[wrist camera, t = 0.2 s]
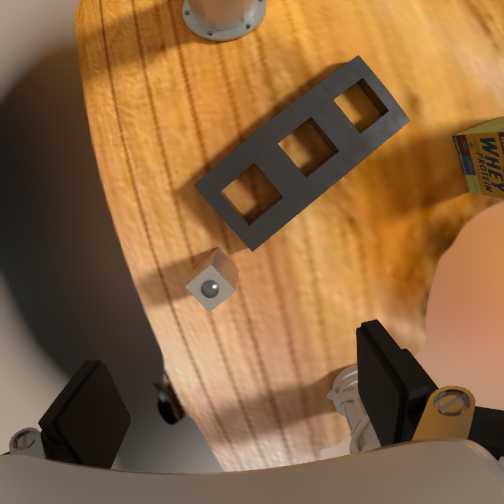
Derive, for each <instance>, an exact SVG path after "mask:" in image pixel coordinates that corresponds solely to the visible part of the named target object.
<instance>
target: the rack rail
mask: <svg viewBox="0 0 504 504" xmlns="http://www.w3.org/2000/svg"><path fill="white" fill-rule="evenodd" d="M355 83H357V84H358V85H359V86H360V88H361V89H362V90H363V91H364V92H365V94H366V95H367V96H368V97H369V99H370V100H371V101H372V102H373V104H374V105H375V106H376V108H377V109H378V110H379V111H380V113H381V115H379V116H378V117H377V118H376V119H374V120H373V121H372V122H371V123H369V124H368V125H367V126H366V127H364V128H363V129H362V130H361V131H358V130H357V129H356V128H355V126H354V125H353V124H352V123H351V121H350V120H349V119H348V118H347V116H346V115H345V114H344V113H343V111H342V110H341V109H340V108H339V107H338V105H337V104H336V103H335V102H334V101H333V100H334V99H335V98H336V97H338V96H339V95H340V94H342V93H343V92H344V91H346V90H347V89H349V88H350V87H351V86H353V85H354V84H355ZM306 120H308V121H309V122H310V123H311V124H312V126H313V127H314V128H315V129H316V130H317V132H318V133H319V134H320V135H321V136H322V138H323V139H324V140H325V141H326V143H327V144H328V145H329V146H330V148H331V149H332V150H333V151H334V152H333V153H332V154H331V155H330V156H329V157H327V158H326V159H325V160H324V161H322V162H321V163H320V164H319V165H318V166H316V167H315V168H314V169H313V170H311V171H310V172H309V173H308V174H307V175H305V176H304V175H303V173H302V172H301V171H300V170H299V169H298V167H297V166H296V165H295V164H294V163H293V161H292V160H291V159H290V158H289V157H288V155H287V154H286V153H285V152H284V151H283V150H282V148H281V147H280V146H279V145H278V143H279V142H280V141H281V140H283V139H284V138H285V137H286V136H288V135H289V134H290V133H291V132H293V131H294V130H295V129H296V128H298V127H299V126H300V125H301V124H303V123H304V122H305V121H306ZM409 121H410V120H409V118H408V117H407V115H406V114H405V113H404V111H403V110H402V108H401V107H400V106H399V104H398V103H397V102H396V100H395V99H394V98H393V96H392V95H391V94H390V92H389V91H388V90H387V89H386V87H385V86H384V85H383V84H382V82H381V81H380V80H379V79H378V77H377V76H376V75H375V74H374V73H373V71H372V70H371V69H370V68H369V67H368V65H367V64H366V63H365V62H364V61H363V60H362V59H361V57H360V56H359V55H358V56H357V57H355V58H354V59H352V60H351V61H349V62H348V63H346V64H345V65H343V66H342V67H341V68H339V69H338V70H336V71H335V72H333V73H332V74H331V75H329V76H328V77H326V78H325V79H324V80H322V81H321V82H320V83H318V84H317V85H316V86H314V87H313V88H311V89H310V90H309V91H307V92H306V93H305V94H303V95H302V96H301V97H299V98H298V99H297V100H296V101H294V102H293V103H292V104H290V105H289V106H288V107H286V108H285V109H284V110H283V111H281V112H280V113H279V114H277V115H276V116H275V117H274V118H272V119H271V120H270V121H269V122H267V123H266V124H265V125H264V126H262V127H261V128H260V129H259V130H258V131H256V132H255V133H254V134H253V135H251V136H250V137H249V138H248V139H247V140H245V141H244V142H243V143H242V144H241V145H239V146H238V147H237V148H236V149H235V150H234V151H232V152H231V153H230V154H229V155H228V156H227V157H225V158H224V159H223V160H222V161H221V162H220V163H218V164H217V165H216V166H215V167H214V168H213V169H212V170H211V171H209V172H208V173H207V174H206V175H205V176H204V177H203V178H202V179H200V180H199V181H198V182H197V183H196V184H195V185H194V187H195V188H196V189H197V190H198V191H199V192H200V193H201V194H202V196H203V197H204V198H205V199H206V200H207V201H208V202H209V203H210V205H211V206H212V207H213V208H214V209H215V210H216V211H217V212H218V214H219V215H220V216H221V217H222V218H223V219H224V220H225V221H226V223H227V224H228V225H229V226H230V227H231V228H232V229H233V230H234V232H235V233H236V234H237V235H238V236H239V237H240V238H241V239H242V241H243V242H244V243H245V244H246V245H247V246H248V247H249V248H250V250H251V251H252V252H253V251H254V250H255V249H256V248H258V247H259V246H260V245H261V244H262V243H264V242H265V241H266V240H267V239H269V238H270V237H271V236H272V235H273V234H275V233H276V232H277V231H278V230H279V229H281V228H282V227H283V226H284V225H285V224H287V223H288V222H289V221H290V220H291V219H293V218H294V217H295V216H296V215H297V214H299V213H300V212H301V211H302V210H303V209H305V208H306V207H307V206H308V205H309V204H311V203H312V202H313V201H314V200H315V199H317V198H318V197H319V196H320V195H321V194H323V193H324V192H325V191H326V190H327V189H329V188H330V187H331V186H332V185H334V184H335V183H336V182H337V181H338V180H340V179H341V178H342V177H343V176H344V175H346V174H347V173H348V172H349V171H350V170H352V169H353V168H354V167H355V166H356V165H358V164H359V163H360V162H361V161H362V160H364V159H365V158H366V157H367V156H368V155H370V154H371V153H372V152H373V151H374V150H376V149H377V148H378V147H379V146H380V145H382V144H383V143H384V142H385V141H386V140H388V139H389V138H390V137H391V136H392V135H394V134H395V133H396V132H397V131H398V130H400V129H401V128H402V127H403V126H404V125H406V124H407V123H408V122H409ZM252 164H255V165H256V166H257V167H258V168H259V170H260V171H261V172H262V173H263V174H264V175H265V177H266V178H267V179H268V180H269V181H270V182H271V184H272V185H273V186H274V187H275V188H276V189H277V191H278V192H279V193H280V194H281V196H280V197H279V198H278V199H276V200H275V201H274V202H273V203H272V204H271V205H269V206H268V207H267V208H266V209H265V210H263V211H262V212H261V213H260V214H259V215H257V216H256V217H255V218H254V219H253V220H252V221H250V222H249V221H248V220H247V219H246V218H245V217H244V216H243V215H242V213H241V212H240V211H239V210H238V209H237V208H236V207H235V205H234V204H233V203H232V202H231V201H230V200H229V199H228V197H227V196H226V195H225V194H224V193H223V192H222V190H223V189H224V188H226V187H227V186H228V185H229V184H230V183H231V182H232V181H234V180H235V179H236V178H237V177H238V176H239V175H241V174H242V173H243V172H244V171H245V170H246V169H248V168H249V167H250V166H251V165H252Z"/></svg>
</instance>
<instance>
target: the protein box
mask: <svg viewBox="0 0 504 504" xmlns="http://www.w3.org/2000/svg"><path fill="white" fill-rule="evenodd" d="M453 139H454V142H455V145H456V148H457V151H458V154H459V158H460V161H461V165H462V168H463V172H464V176H465V180H466V183H467V187H468V191H469V192H471V193H476V194H482V195H487V196H492V197H497V198H502V199H504V117H500V118H498V119H495V120H492V121H489V122H486V123H484V124H481V125H478V126H476V127H473V128H470V129H468V130H465V131H462V132H459V133H457V134H454V135H453Z"/></svg>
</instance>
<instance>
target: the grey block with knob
mask: <svg viewBox="0 0 504 504" xmlns="http://www.w3.org/2000/svg"><path fill="white" fill-rule="evenodd" d="M238 270H239V269H238V267H237V266H236V265H235V264H234V263H233V262H232V261H231V260H230V259H229V258H228V256H227V255H226V254H225V253H224V252H223V251H222V250H221V249H220V248H219V247H217V248H216V249H215V250H214V251H213V252H211V253H210V254H209V255H208V256H207V257H206V258H204V259H203V260H202V261H201V262H200V263H199V264H198V265H196V267H195V269H194V271H193V273H192V274H191V276H190V278H189V280H188V282H187V284H186V285H185V288H186V289H187V290H188V291H189V292H190V293H191V294H192V295H193V296H194V297H195V298H196V299H197V300H198V301H199V302H200V303H201V304H202V305H203V306H204V307H205V308H206V309H207V311H208V312H210V311H212V310H213V309H214V308H216V307H217V306H218V305H219V304H221V303H222V302H223V301H224V300H226V299H227V298H228V297H229V296H230V295H232V294H233V293H234V292H235V291H236V287H237V279H238Z"/></svg>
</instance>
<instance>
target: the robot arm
mask: <svg viewBox="0 0 504 504" xmlns="http://www.w3.org/2000/svg"><path fill="white" fill-rule="evenodd" d="M259 1H261V2H259ZM265 12H266V0H184V3H183V6H182V15H183V19H184V21H185V23H186V25H187V26H188V28H189V29H190V30H191V31H192V32H193V33H194V34H196V35H198V36H199V37H202V38H205V39H207V40H213V41H229V40H234V39H238V38H241V37H243V36H246V35H247V34H249V33H251V32H252V31H254V30H255V29H256V28H257V27H258V26H259V25H260V23H261V22H262V20H263V18H264V16H265ZM188 14H189V15H188ZM246 28H249V29H246ZM210 34H212V35H211V36H209V35H210ZM356 337H357V370H358V393H359V396H360V399H361V401H362V403H363V405H364V408H365V410H366V412H367V414H368V417H369V419H370V421H371V424H372V426H373V428H374V431H375V433H376V435H377V438H378V440H379V442H380V445H381V447H379V448H375V449H371V450H367V451H362V452H358V453H353V454H349V455H344V456H340V457H336V458H330V459H326V460H320V461H314V462H308V463H302V464H296V465H290V466H283V467H275V468H267V469H258V470H247V471H234V472H217V473H156V472H139V471H126V470H116V469H111V467H112V464H113V462H114V460H115V457H116V455H117V452H118V450H119V448H120V445H121V443H122V440H123V438H124V436H125V434H126V432H127V429H128V427H129V424H130V421H131V419H130V415H129V413H128V411H127V409H126V407H125V405H124V403H123V401H122V399H121V397H120V395H119V393H118V390H117V388H116V386H115V384H114V382H113V380H112V378H111V375H110V373H109V371H108V369H107V367H106V365H105V364H104V363H102V362H101V361H100V360H87V361H85V362H84V363H83V365H82V366H81V367H80V368H79V370H78V371H77V372H76V373H75V375H74V376H73V377H72V379H71V380H70V381H69V382H68V384H67V385H66V386H65V388H64V389H63V390H62V391H61V393H60V394H59V395H58V397H57V398H56V399H55V401H54V402H53V403H52V405H51V406H50V407H49V409H48V410H47V411H46V413H45V414H44V415H43V417H42V418H41V419H40V421H39V422H38V424H39V425H40V427H41V429H42V431H41V433H40V432H39V431H38V430H37V429H35V428H25V429H22V430H20V431H18V432H17V433H16V434H14V436H13V437H12V438H11V440H10V444H9V448H10V451H9V452H7V453H5V454H2V455H0V504H504V411H502V410H496V409H490V408H483V407H477V406H475V398H474V396H473V394H472V393H471V392H470V391H469V390H467V389H465V388H463V387H459V386H446V387H442V388H440V389H439V388H438V387H437V386H436V384H435V383H434V382H433V381H432V379H431V378H430V377H429V375H428V374H427V373H426V372H425V370H424V369H423V368H422V366H421V365H420V364H419V363H418V362H417V360H416V359H415V358H414V356H413V355H412V354H411V353H410V351H409V350H407V349H400V347H399V346H398V345H397V343H396V342H395V341H394V340H393V338H392V337H391V336H390V334H389V333H388V332H387V331H386V329H385V328H384V327H383V326H382V324H381V323H380V322H379V321H378V320H377V319H376V320H372V321H368V322H363V323H362V324H361V327H360V328H357V330H356Z"/></svg>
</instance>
